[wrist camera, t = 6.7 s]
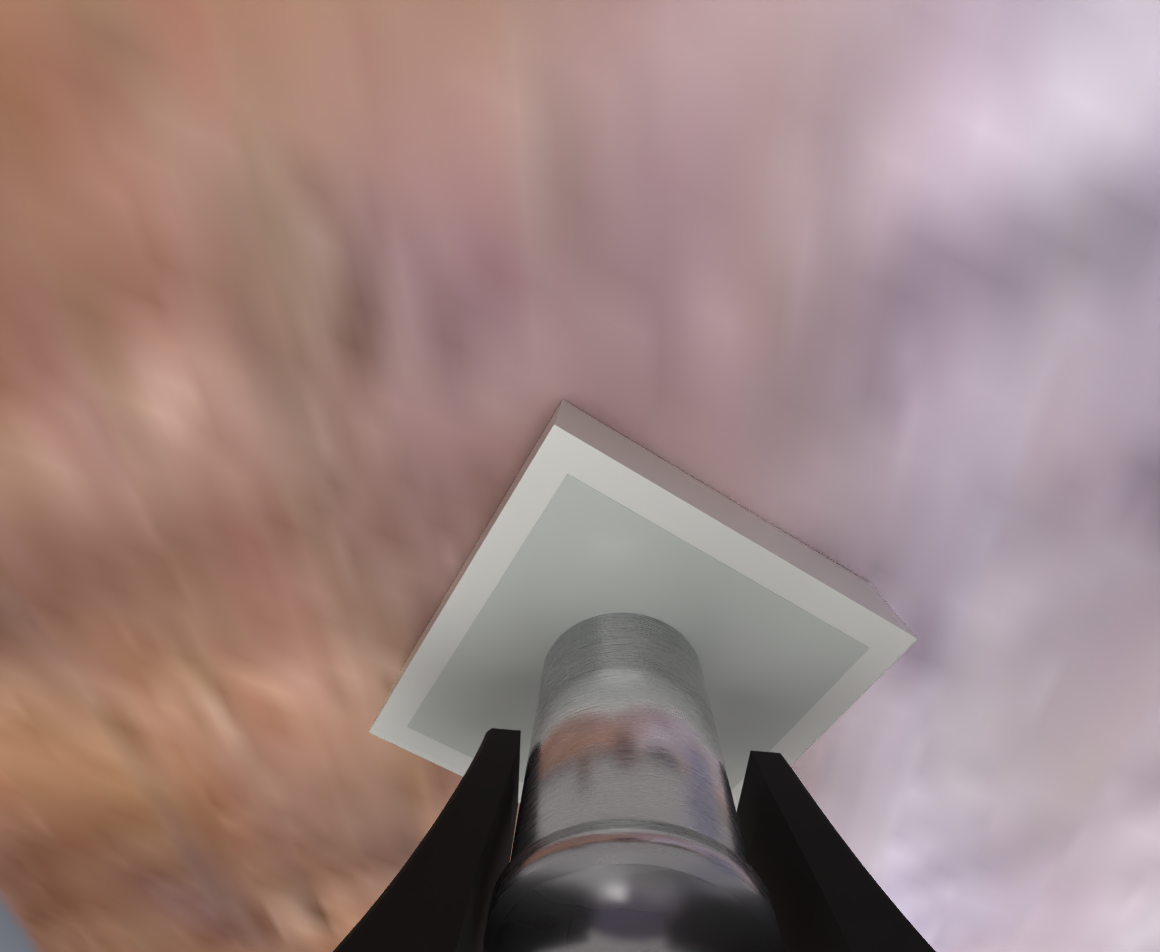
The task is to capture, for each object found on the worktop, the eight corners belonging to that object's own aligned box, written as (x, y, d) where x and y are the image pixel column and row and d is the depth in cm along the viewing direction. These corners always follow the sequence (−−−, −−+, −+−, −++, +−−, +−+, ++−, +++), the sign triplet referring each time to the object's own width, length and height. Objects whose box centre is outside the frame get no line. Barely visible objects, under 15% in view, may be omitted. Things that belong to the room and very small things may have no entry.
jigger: (717, 606, 13) (802, 860, 7) (704, 752, 14) (766, 1056, 9) (531, 602, 13) (472, 845, 7) (537, 746, 15) (492, 1039, 9)
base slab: (870, 583, 15) (918, 640, 13) (668, 802, 19) (678, 879, 16) (562, 399, 14) (553, 425, 12) (400, 669, 17) (367, 733, 15)
